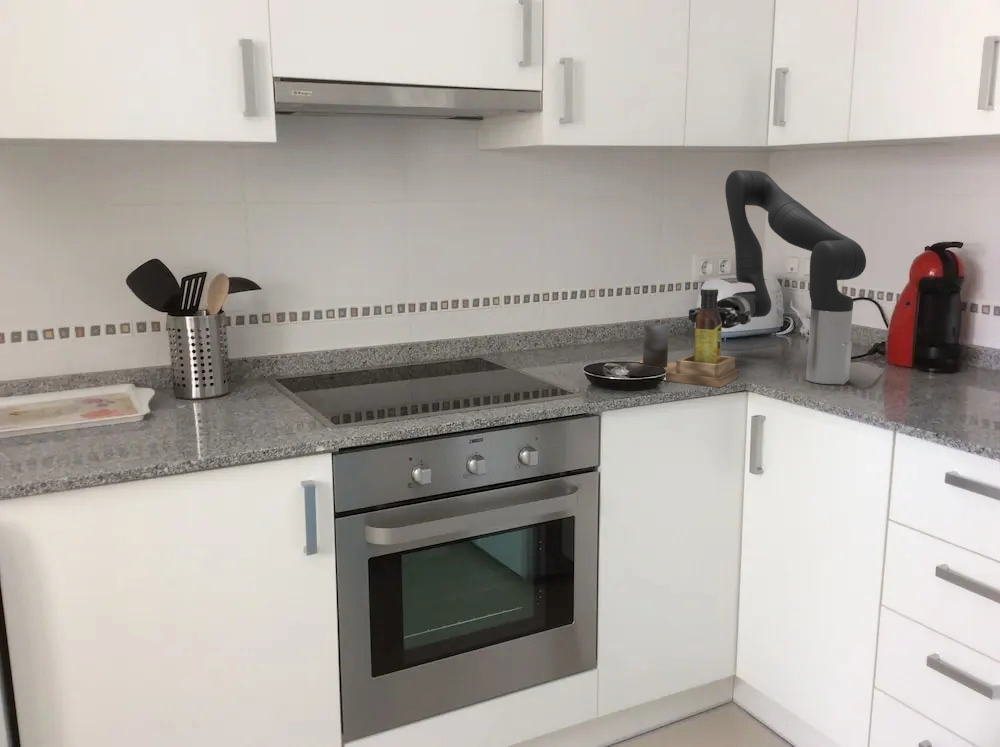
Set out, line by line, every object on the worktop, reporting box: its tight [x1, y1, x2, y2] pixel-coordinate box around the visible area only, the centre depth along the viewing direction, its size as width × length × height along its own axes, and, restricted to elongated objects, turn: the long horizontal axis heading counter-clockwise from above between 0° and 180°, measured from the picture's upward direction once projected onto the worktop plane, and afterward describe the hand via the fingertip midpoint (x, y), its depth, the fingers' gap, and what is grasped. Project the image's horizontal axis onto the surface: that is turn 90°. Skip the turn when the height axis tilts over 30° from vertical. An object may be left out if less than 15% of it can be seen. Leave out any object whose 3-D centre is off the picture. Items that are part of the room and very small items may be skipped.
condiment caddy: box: [636, 323, 739, 388], centre depth 216 cm, size 25×13×12 cm, turn 58°
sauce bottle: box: [693, 287, 723, 364], centre depth 212 cm, size 7×6×20 cm
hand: (710, 319), depth 212 cm, fingers open, 8 cm apart
